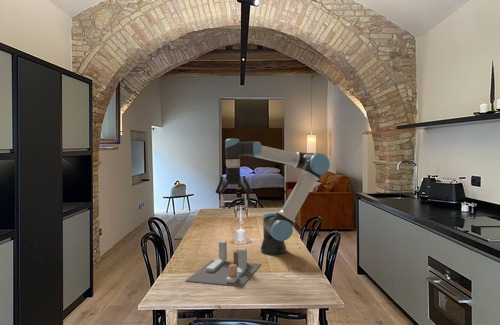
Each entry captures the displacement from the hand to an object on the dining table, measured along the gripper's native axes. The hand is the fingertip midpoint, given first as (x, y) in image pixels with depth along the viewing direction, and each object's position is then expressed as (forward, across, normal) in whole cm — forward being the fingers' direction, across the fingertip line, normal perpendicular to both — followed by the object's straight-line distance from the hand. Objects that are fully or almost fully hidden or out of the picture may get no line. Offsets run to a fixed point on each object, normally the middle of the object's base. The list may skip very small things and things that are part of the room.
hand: (234, 206), depth 203 cm
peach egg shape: (+28, +7, -30) cm, 41 cm away
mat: (+30, 0, -20) cm, 36 cm away
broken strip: (+30, +7, -24) cm, 39 cm away
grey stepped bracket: (+30, -7, -11) cm, 33 cm away
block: (+30, +4, -7) cm, 31 cm away
